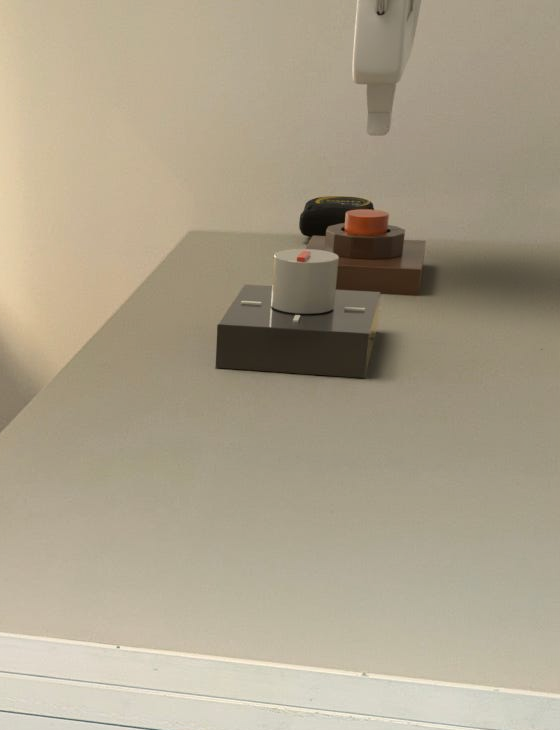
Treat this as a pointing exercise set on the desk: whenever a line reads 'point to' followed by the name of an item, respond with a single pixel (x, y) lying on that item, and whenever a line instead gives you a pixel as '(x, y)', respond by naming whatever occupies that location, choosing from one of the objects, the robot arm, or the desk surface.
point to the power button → (366, 222)
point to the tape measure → (328, 213)
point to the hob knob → (304, 281)
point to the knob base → (298, 335)
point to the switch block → (374, 260)
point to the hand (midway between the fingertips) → (378, 133)
